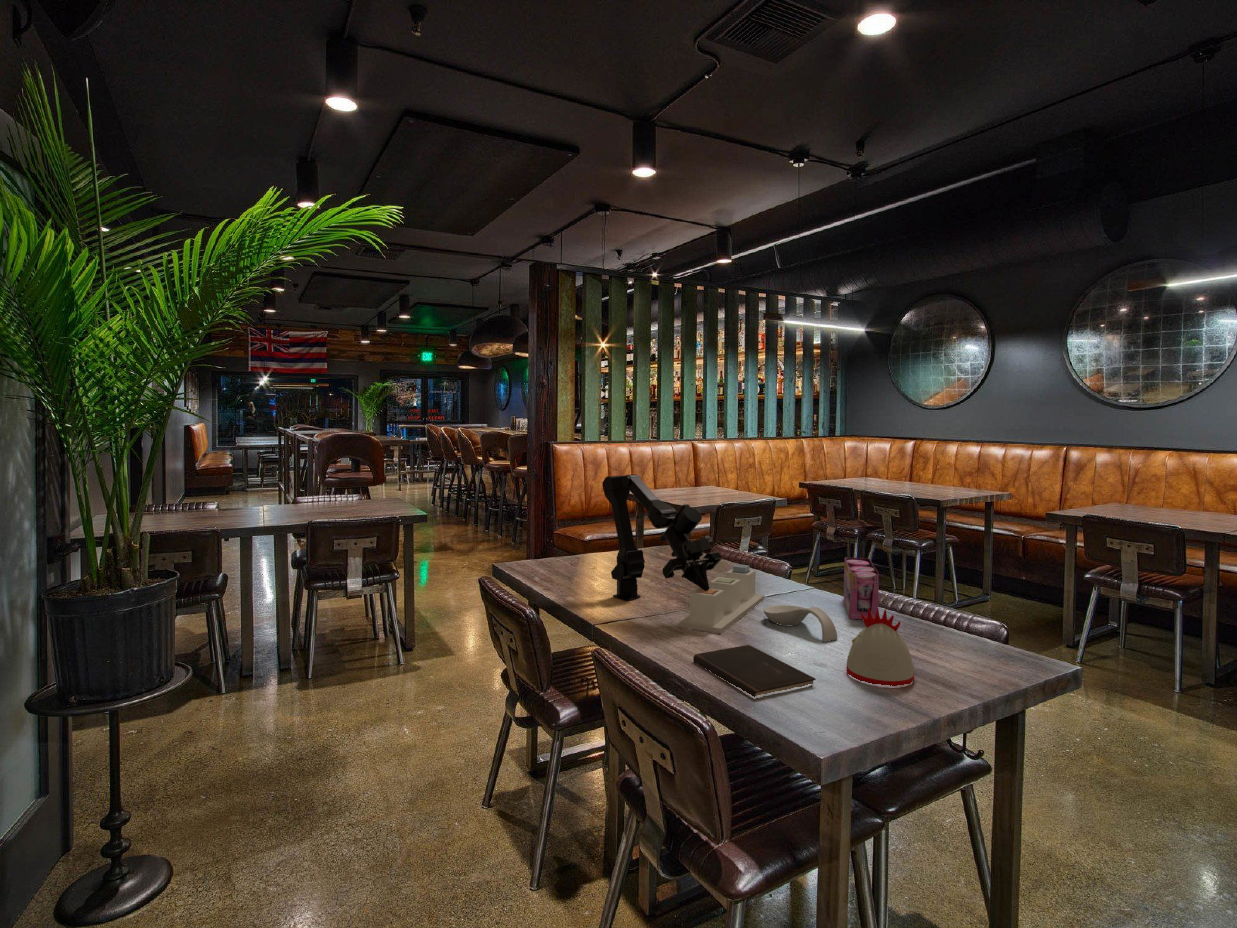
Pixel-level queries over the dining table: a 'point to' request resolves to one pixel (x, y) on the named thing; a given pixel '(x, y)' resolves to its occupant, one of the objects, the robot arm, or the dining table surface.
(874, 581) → the gum box
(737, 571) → the slate blue button
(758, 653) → the hardcover book
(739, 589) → the button console
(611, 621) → the dining table surface
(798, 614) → the spoon rest
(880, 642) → the tan and red dome
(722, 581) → the sage green button
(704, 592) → the terracotta button
